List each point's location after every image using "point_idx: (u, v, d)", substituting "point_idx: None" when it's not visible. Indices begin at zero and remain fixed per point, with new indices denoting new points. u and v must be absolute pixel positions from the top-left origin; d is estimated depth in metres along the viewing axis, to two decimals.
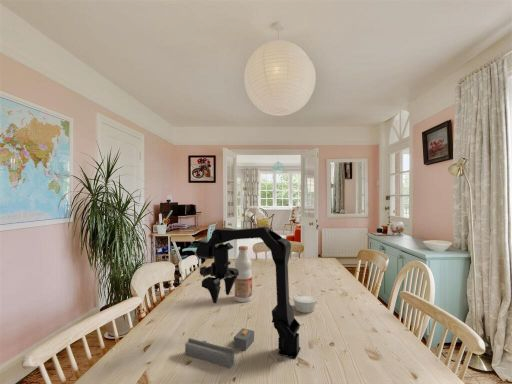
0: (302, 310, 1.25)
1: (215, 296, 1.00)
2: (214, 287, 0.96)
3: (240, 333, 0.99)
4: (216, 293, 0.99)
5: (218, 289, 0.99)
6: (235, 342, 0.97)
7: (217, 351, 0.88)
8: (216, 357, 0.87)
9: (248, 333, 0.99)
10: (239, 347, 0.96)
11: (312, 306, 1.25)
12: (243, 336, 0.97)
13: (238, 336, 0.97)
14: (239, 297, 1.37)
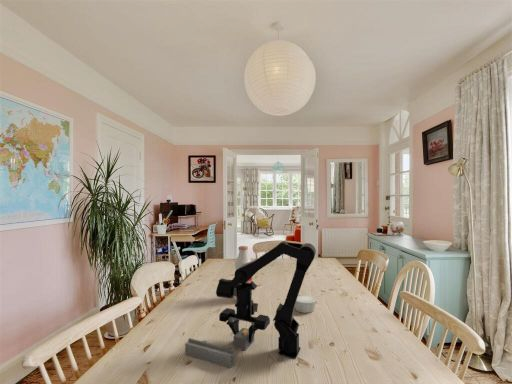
0: (302, 310, 1.25)
1: None
2: (219, 319, 1.00)
3: (240, 332, 1.00)
4: None
5: (230, 325, 0.98)
6: (235, 342, 0.97)
7: (217, 351, 0.88)
8: (216, 357, 0.87)
9: (248, 333, 0.99)
10: (239, 346, 0.96)
11: (312, 306, 1.25)
12: (243, 335, 0.97)
13: (238, 335, 0.97)
14: None
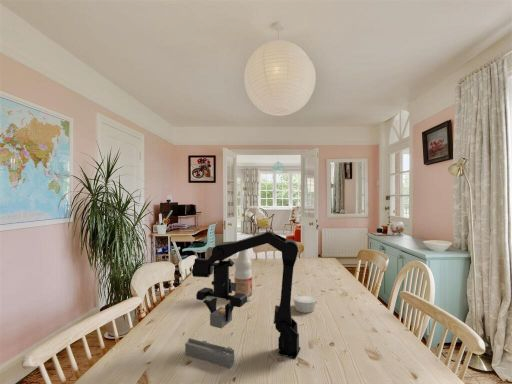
0: (302, 310, 1.25)
1: None
2: (196, 297, 0.99)
3: (217, 311, 0.98)
4: None
5: (206, 303, 0.97)
6: (211, 320, 0.95)
7: (217, 351, 0.88)
8: (216, 357, 0.87)
9: None
10: (215, 324, 0.94)
11: (312, 306, 1.25)
12: (219, 314, 0.96)
13: (214, 313, 0.96)
14: None
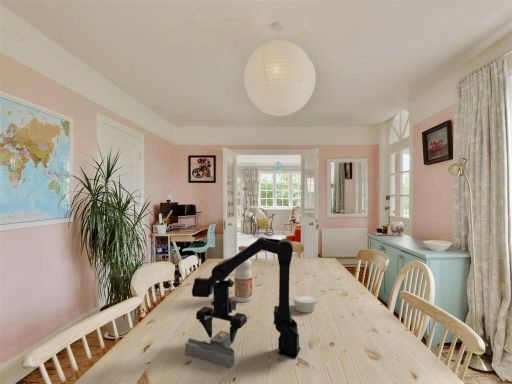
0: (302, 310, 1.25)
1: None
2: (196, 317, 0.98)
3: (217, 336, 0.98)
4: None
5: (202, 323, 0.97)
6: None
7: (217, 351, 0.88)
8: (216, 357, 0.87)
9: (225, 336, 0.98)
10: None
11: (312, 306, 1.25)
12: (220, 339, 0.96)
13: (215, 339, 0.96)
14: (239, 297, 1.37)
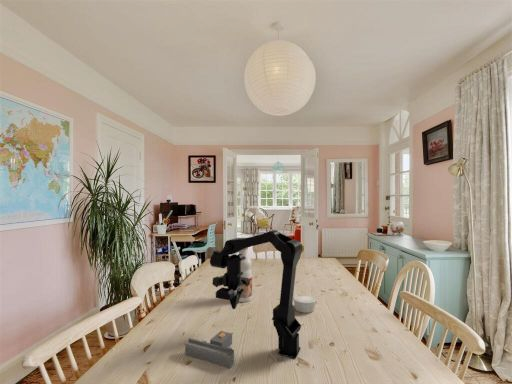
0: (302, 310, 1.25)
1: (234, 302, 1.05)
2: (229, 298, 0.97)
3: (217, 336, 0.98)
4: (235, 299, 1.04)
5: (237, 296, 1.04)
6: None
7: (217, 351, 0.88)
8: (216, 357, 0.87)
9: (225, 336, 0.98)
10: None
11: (312, 306, 1.25)
12: (220, 339, 0.96)
13: (215, 339, 0.96)
14: None
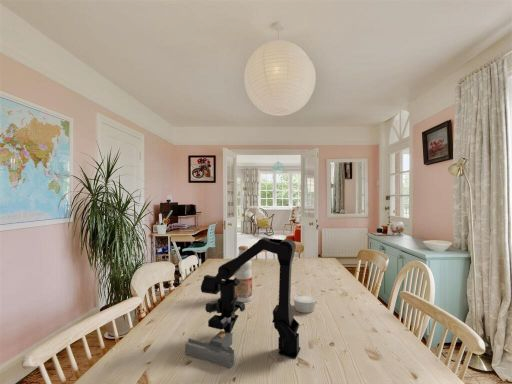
0: (302, 310, 1.25)
1: (228, 330, 1.00)
2: (221, 327, 0.93)
3: (217, 336, 0.98)
4: (229, 327, 1.00)
5: (231, 323, 0.99)
6: None
7: (217, 351, 0.88)
8: (216, 357, 0.87)
9: (225, 336, 0.98)
10: None
11: (312, 306, 1.25)
12: (220, 339, 0.95)
13: (215, 339, 0.96)
14: (239, 297, 1.37)
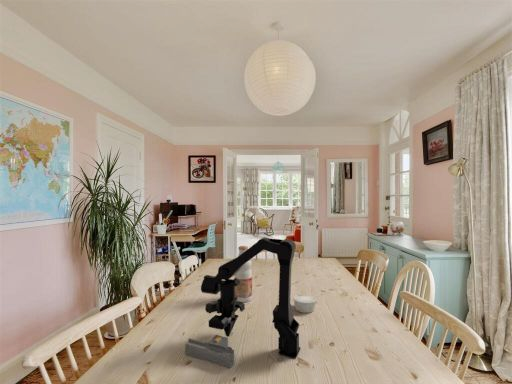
0: (302, 310, 1.25)
1: (228, 330, 1.00)
2: (222, 328, 0.93)
3: (213, 340, 0.95)
4: (229, 327, 1.00)
5: (231, 323, 0.99)
6: None
7: (217, 351, 0.88)
8: (216, 357, 0.87)
9: (221, 340, 0.95)
10: None
11: (312, 306, 1.25)
12: (215, 343, 0.93)
13: (210, 343, 0.93)
14: (239, 297, 1.37)
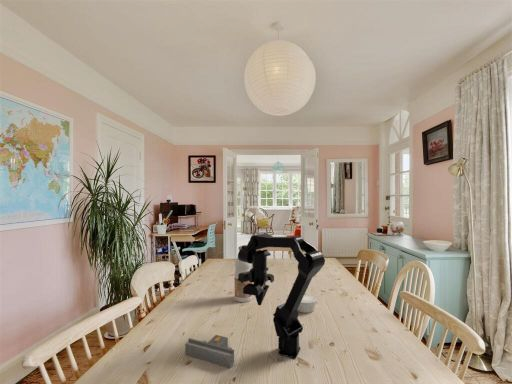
0: (302, 310, 1.25)
1: (260, 298, 1.04)
2: (257, 294, 0.96)
3: (212, 340, 0.95)
4: (261, 295, 1.03)
5: (264, 291, 1.03)
6: None
7: (217, 351, 0.88)
8: (216, 357, 0.87)
9: (221, 340, 0.95)
10: None
11: (312, 306, 1.25)
12: (215, 343, 0.93)
13: None
14: (239, 297, 1.37)
